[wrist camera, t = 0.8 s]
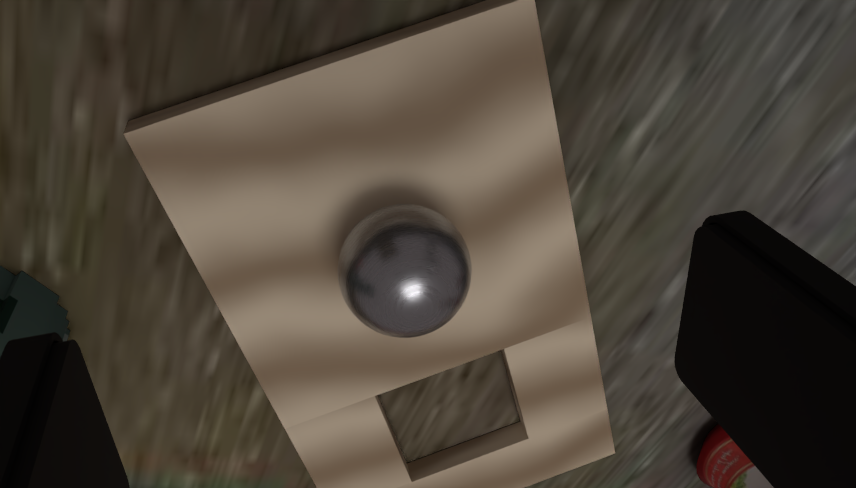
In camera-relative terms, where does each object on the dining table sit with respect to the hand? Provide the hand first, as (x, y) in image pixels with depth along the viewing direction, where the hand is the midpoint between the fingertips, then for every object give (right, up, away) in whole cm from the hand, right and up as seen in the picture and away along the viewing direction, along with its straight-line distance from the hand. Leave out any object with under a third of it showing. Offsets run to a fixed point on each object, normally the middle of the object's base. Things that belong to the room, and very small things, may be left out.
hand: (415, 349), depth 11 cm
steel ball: (-1, 0, +21) cm, 21 cm away
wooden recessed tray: (0, -2, +28) cm, 28 cm away
